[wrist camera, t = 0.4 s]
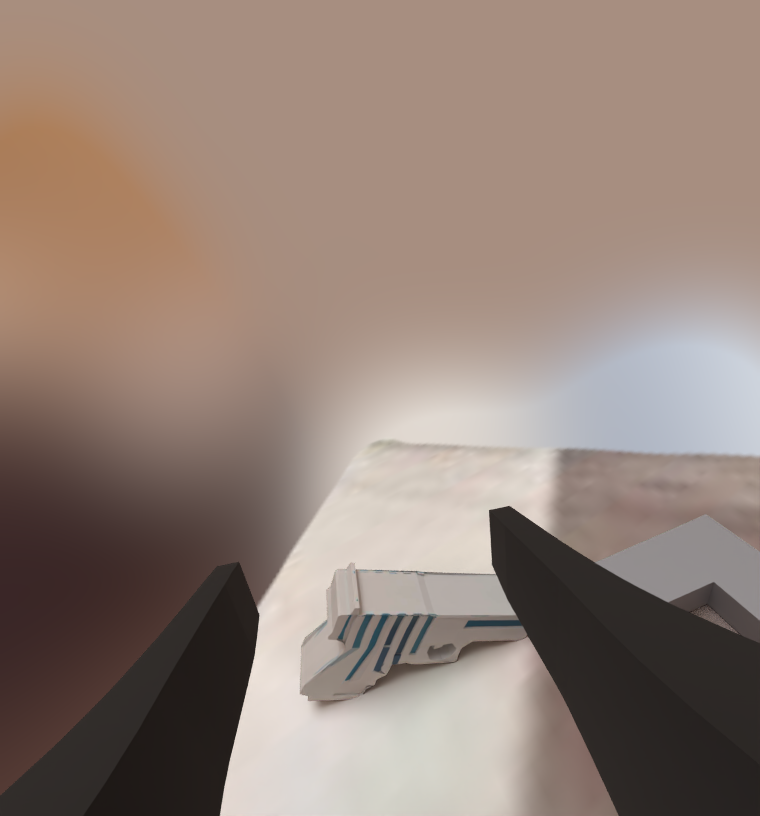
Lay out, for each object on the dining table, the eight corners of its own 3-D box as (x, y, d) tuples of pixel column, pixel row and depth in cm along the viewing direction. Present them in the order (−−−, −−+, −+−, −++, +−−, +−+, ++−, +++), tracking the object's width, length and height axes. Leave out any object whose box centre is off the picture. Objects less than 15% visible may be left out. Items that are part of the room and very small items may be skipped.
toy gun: (299, 654, 26) (323, 560, 22) (474, 649, 30) (525, 568, 25) (297, 703, 23) (325, 608, 19) (489, 691, 27) (549, 609, 23)
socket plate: (974, 746, 16) (1008, 725, 14) (732, 863, 15) (745, 853, 14) (700, 536, 26) (706, 514, 25) (551, 602, 25) (549, 582, 24)
